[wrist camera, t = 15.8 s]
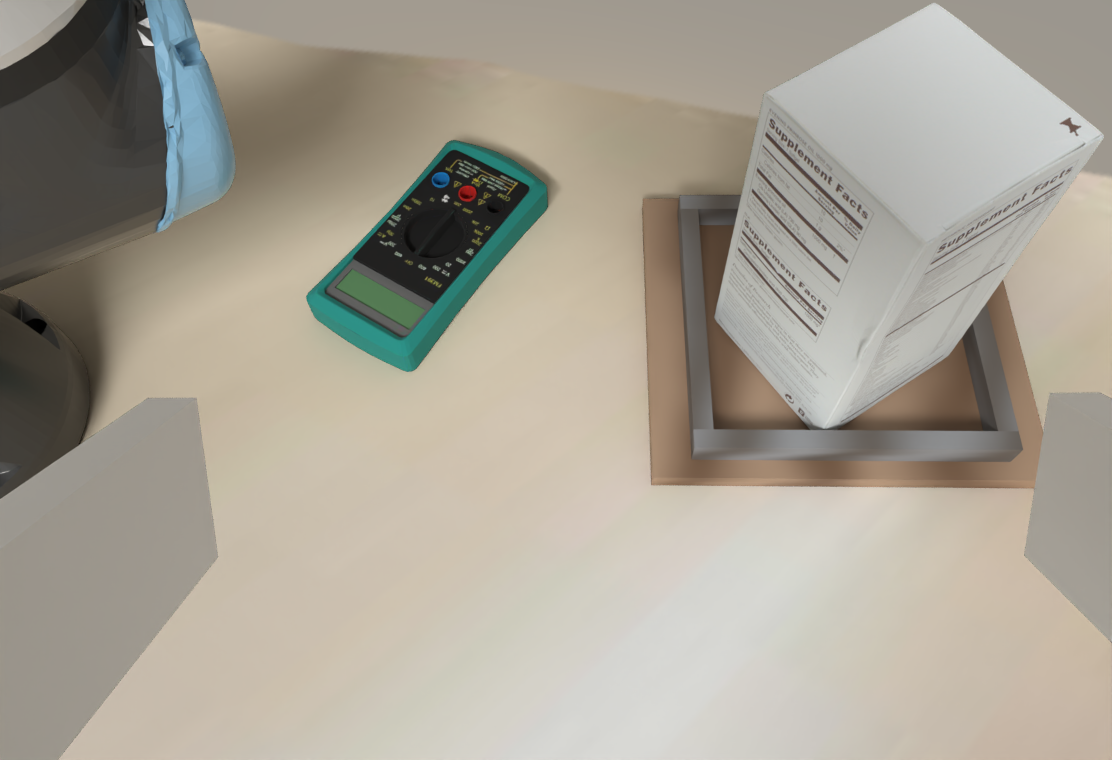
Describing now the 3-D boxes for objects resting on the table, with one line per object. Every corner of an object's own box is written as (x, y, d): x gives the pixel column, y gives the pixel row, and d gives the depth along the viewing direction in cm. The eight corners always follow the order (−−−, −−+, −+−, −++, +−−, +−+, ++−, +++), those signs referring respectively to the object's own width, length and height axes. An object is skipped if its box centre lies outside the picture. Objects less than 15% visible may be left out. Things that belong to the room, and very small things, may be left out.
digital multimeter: (556, 204, 56) (554, 172, 53) (411, 382, 50) (401, 355, 47) (460, 157, 58) (454, 124, 55) (311, 323, 52) (296, 295, 49)
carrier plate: (651, 484, 46) (654, 466, 44) (642, 209, 55) (644, 181, 53) (1046, 488, 45) (1070, 469, 43) (974, 208, 54) (991, 180, 52)
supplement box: (838, 240, 52) (940, -9, 37) (954, 355, 48) (1118, 128, 33) (706, 318, 50) (758, 86, 35) (816, 445, 46) (927, 245, 31)
